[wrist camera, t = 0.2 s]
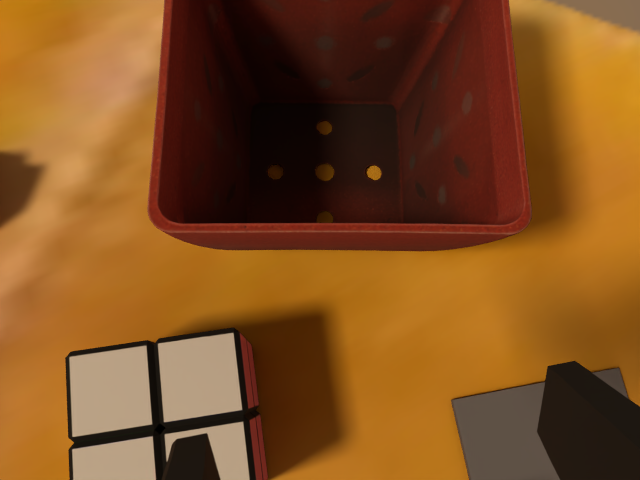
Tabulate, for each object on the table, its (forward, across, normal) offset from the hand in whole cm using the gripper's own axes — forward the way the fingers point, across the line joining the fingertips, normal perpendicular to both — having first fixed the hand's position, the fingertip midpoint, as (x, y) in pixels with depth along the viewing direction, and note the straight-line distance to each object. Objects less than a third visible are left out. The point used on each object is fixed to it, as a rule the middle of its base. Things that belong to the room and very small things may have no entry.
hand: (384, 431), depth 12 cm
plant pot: (+34, -4, +10) cm, 36 cm away
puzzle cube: (+22, +9, +22) cm, 32 cm away
